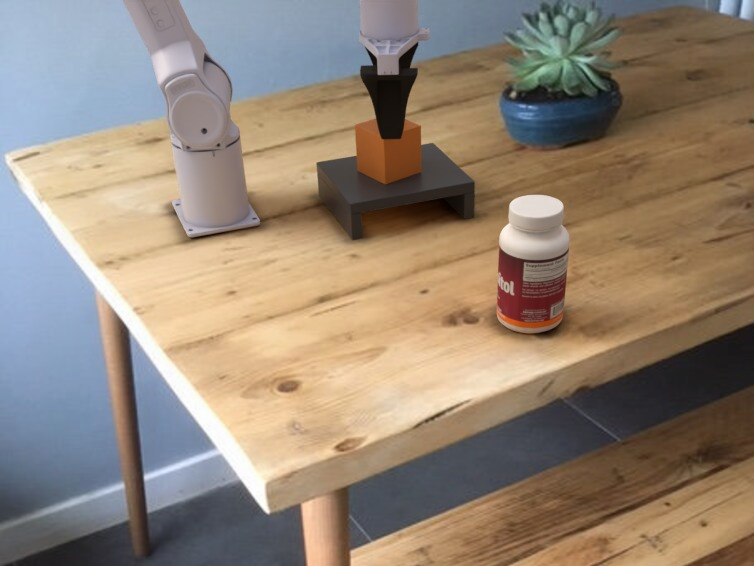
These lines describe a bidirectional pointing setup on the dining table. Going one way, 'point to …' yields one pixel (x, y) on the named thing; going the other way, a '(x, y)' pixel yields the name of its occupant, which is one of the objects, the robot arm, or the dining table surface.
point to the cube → (388, 152)
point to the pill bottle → (532, 265)
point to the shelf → (392, 188)
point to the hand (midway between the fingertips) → (392, 124)
